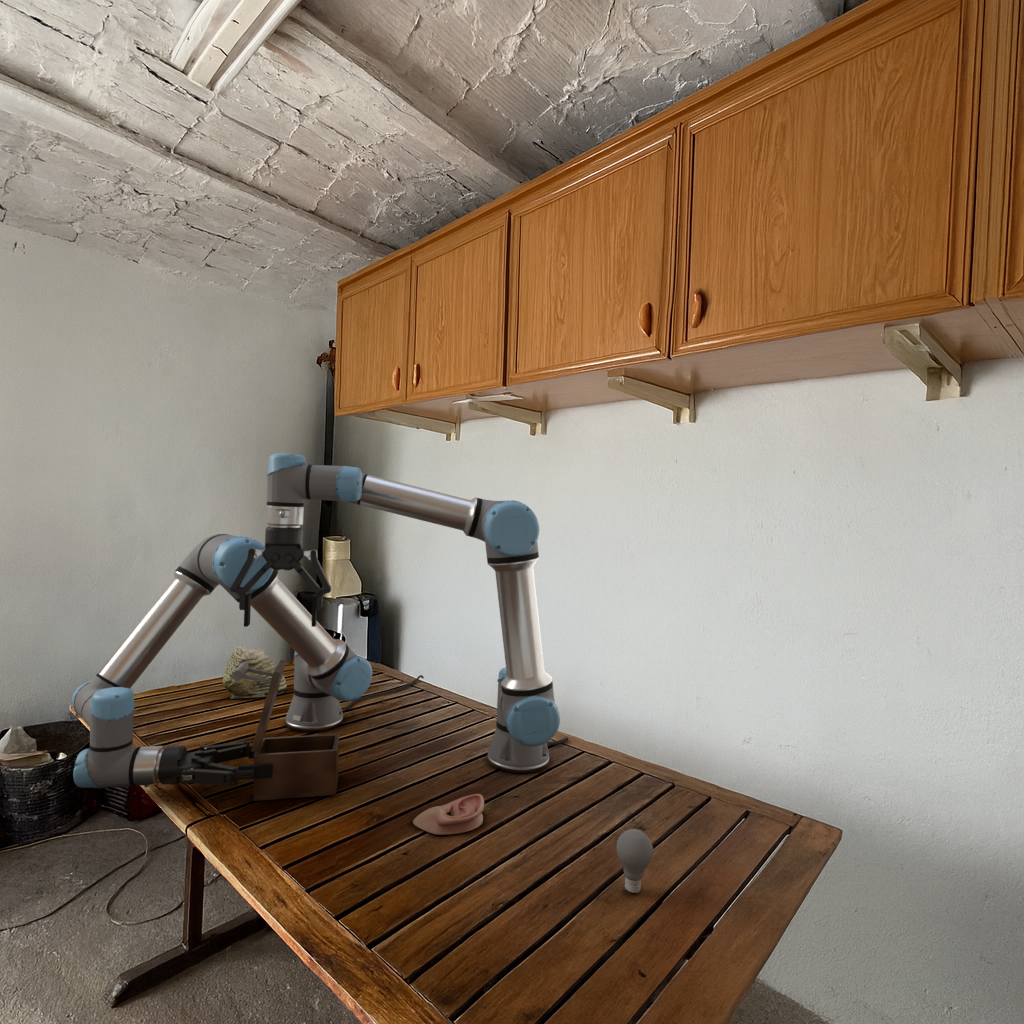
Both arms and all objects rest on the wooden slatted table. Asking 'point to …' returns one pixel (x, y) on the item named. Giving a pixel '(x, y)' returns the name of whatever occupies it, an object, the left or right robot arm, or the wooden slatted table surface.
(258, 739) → the lid
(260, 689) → the fossil
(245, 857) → the wooden slatted table surface
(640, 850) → the light bulb
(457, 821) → the anatomical model
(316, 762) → the chest
